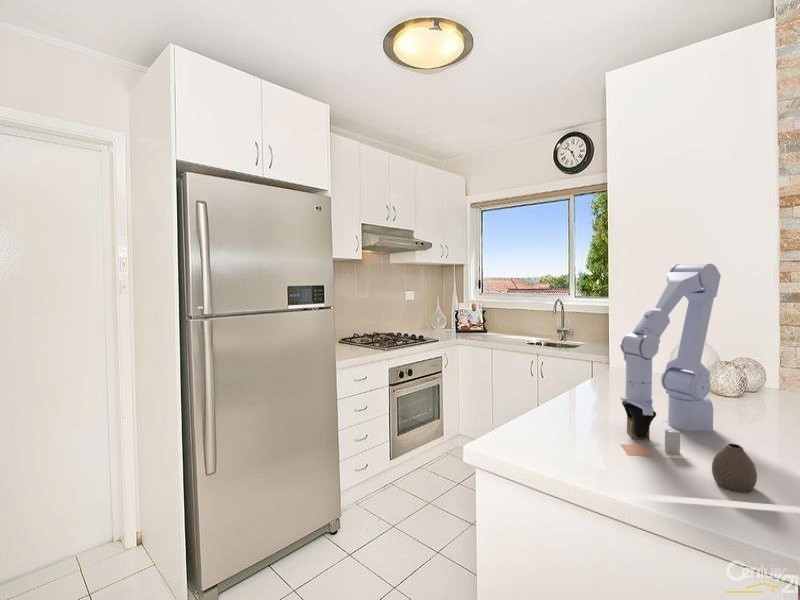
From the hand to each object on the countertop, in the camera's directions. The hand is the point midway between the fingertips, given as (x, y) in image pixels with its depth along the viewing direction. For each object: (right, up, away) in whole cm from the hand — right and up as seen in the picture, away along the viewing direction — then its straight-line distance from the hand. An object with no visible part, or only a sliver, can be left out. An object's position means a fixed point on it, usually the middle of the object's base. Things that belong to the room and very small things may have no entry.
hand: (637, 433), depth 106 cm
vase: (+5, -3, -24) cm, 25 cm away
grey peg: (+2, -1, -10) cm, 10 cm away
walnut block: (0, -2, 0) cm, 2 cm away
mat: (-1, -2, -9) cm, 9 cm away
